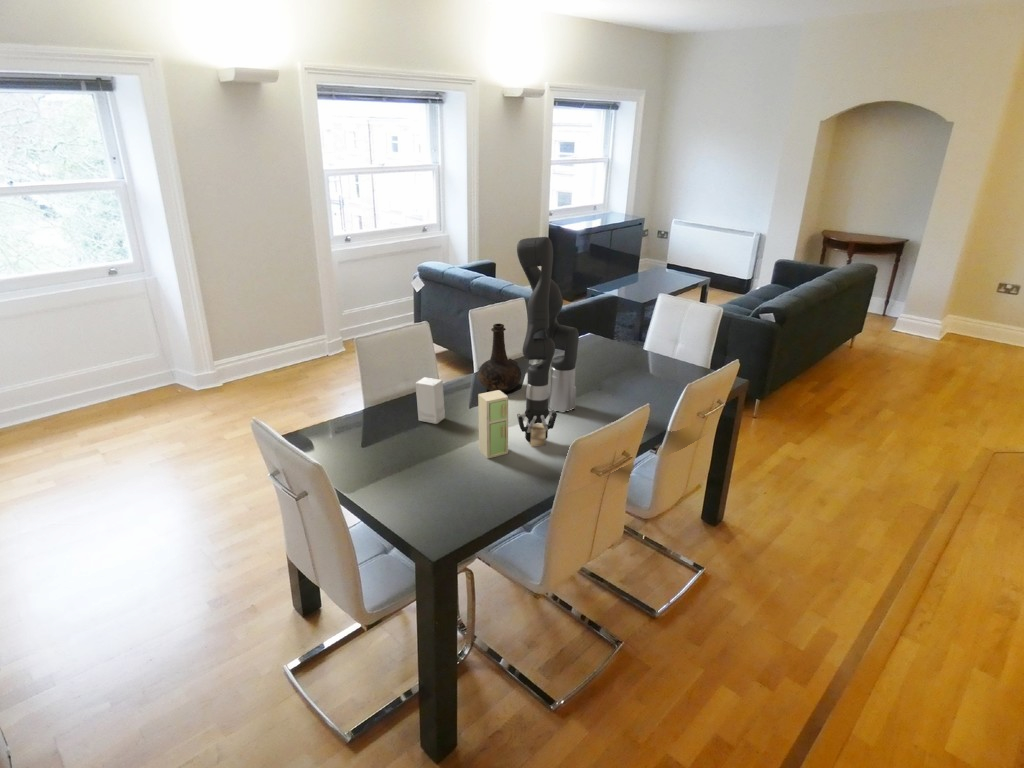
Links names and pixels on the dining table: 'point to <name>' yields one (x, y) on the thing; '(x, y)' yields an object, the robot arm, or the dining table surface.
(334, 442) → the dining table surface
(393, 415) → the dining table surface
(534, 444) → the beech block
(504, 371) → the glass bottle
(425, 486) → the dining table surface
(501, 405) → the toy refrigerator
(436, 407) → the skincare box
